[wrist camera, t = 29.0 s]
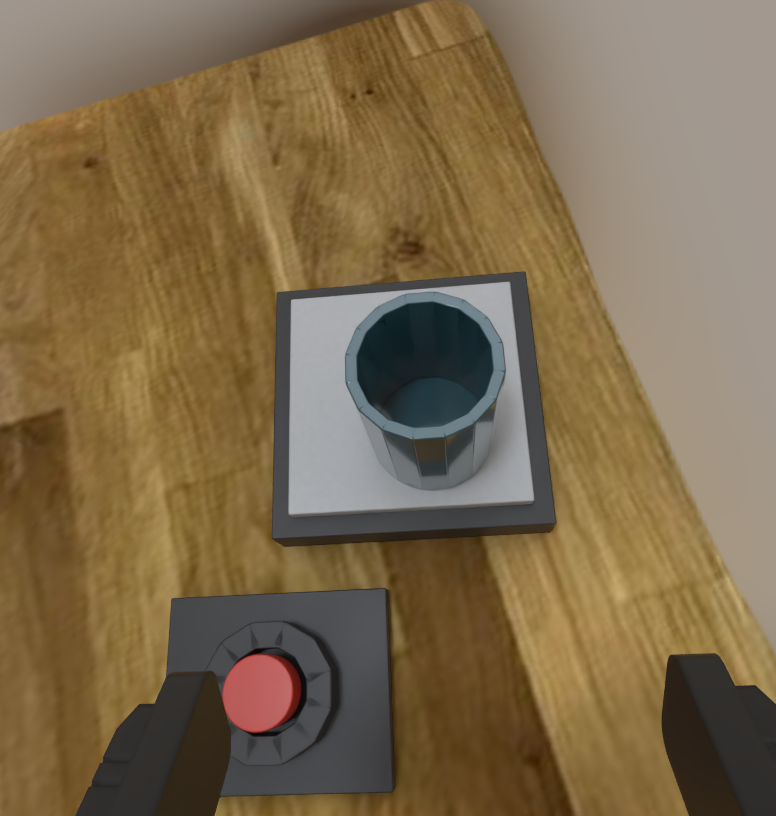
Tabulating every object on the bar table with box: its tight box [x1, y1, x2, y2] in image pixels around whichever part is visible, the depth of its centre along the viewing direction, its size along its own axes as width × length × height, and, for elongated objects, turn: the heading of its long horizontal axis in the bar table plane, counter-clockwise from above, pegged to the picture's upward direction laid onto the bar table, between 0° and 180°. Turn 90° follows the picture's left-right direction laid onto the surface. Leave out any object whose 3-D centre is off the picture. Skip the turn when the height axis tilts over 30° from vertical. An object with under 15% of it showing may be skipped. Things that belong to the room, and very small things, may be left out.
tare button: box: [222, 654, 302, 733], centre depth 31 cm, size 3×3×2 cm
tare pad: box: [166, 588, 395, 797], centre depth 33 cm, size 11×9×3 cm
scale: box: [272, 272, 556, 547], centre depth 37 cm, size 14×14×3 cm
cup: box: [345, 291, 506, 491], centre depth 31 cm, size 6×6×8 cm
